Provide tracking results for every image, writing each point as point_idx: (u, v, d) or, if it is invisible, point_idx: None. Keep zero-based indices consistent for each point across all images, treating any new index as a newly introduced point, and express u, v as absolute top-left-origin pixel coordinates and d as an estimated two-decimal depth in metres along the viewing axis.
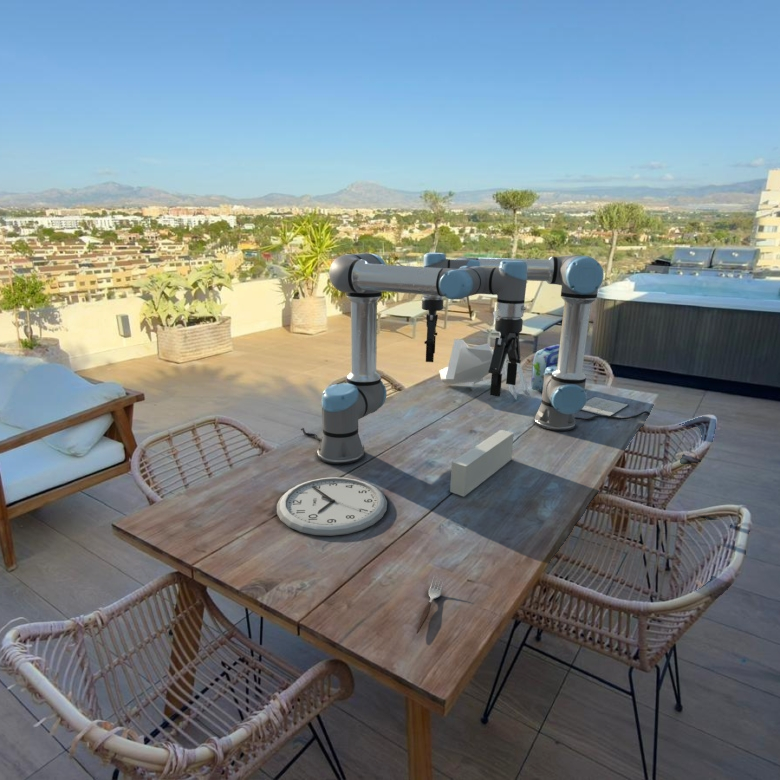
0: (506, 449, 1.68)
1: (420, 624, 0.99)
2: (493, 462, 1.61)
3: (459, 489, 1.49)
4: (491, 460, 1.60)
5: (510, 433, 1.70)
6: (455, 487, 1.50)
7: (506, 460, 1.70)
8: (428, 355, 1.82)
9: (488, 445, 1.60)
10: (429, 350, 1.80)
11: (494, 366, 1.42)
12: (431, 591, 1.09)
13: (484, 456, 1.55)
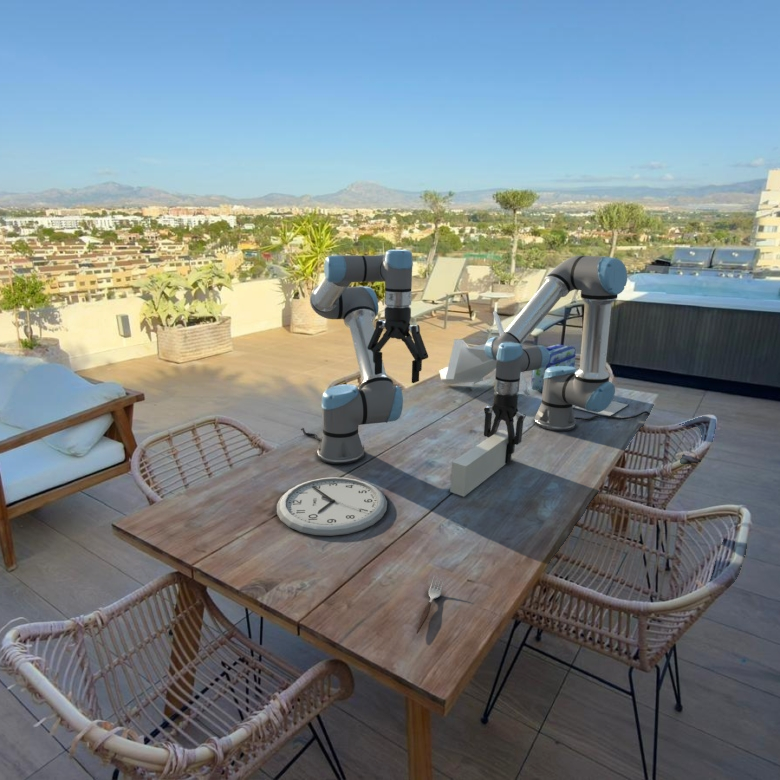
0: None
1: (420, 624, 0.99)
2: (493, 462, 1.61)
3: (459, 489, 1.49)
4: (491, 460, 1.60)
5: None
6: (455, 487, 1.50)
7: None
8: (508, 455, 1.69)
9: (488, 445, 1.60)
10: (513, 450, 1.68)
11: None
12: (431, 591, 1.09)
13: (484, 456, 1.55)
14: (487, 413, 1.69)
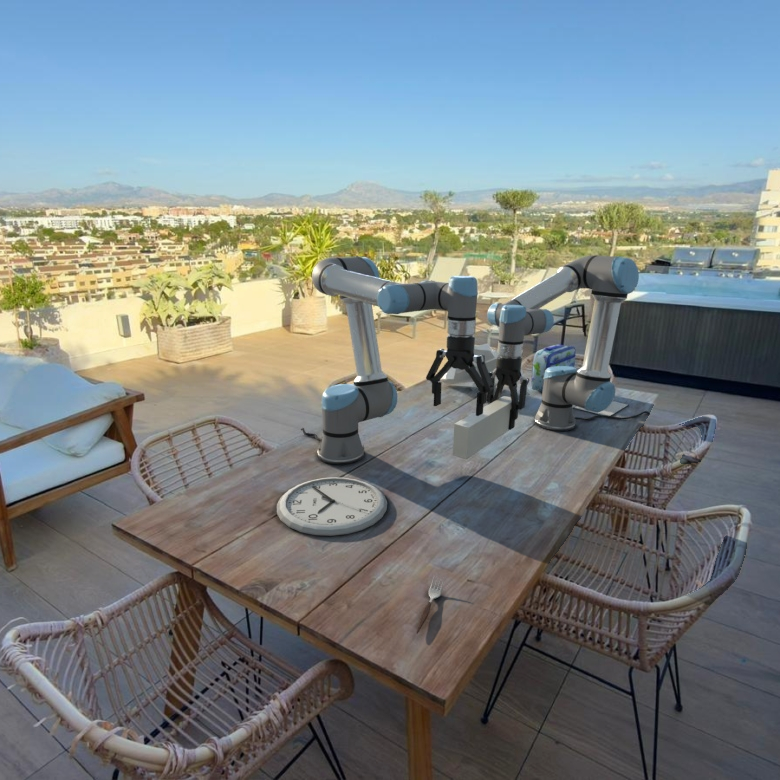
0: (509, 414, 1.64)
1: (420, 624, 0.99)
2: (496, 427, 1.58)
3: (462, 452, 1.46)
4: (494, 425, 1.56)
5: None
6: (458, 450, 1.46)
7: None
8: (512, 421, 1.65)
9: (491, 409, 1.57)
10: (516, 416, 1.64)
11: None
12: (431, 591, 1.09)
13: (487, 420, 1.51)
14: None
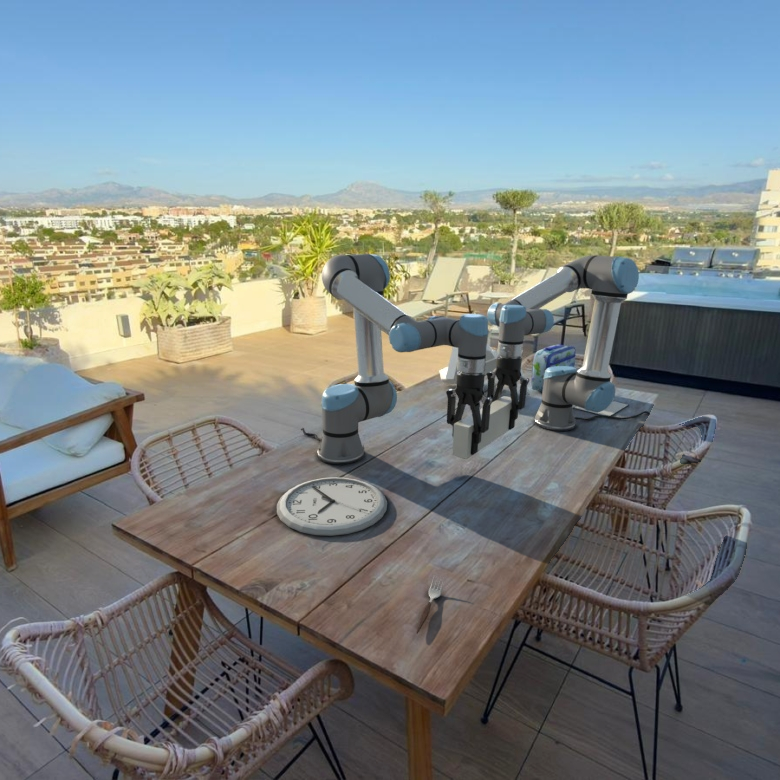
0: (509, 414, 1.64)
1: (420, 624, 0.99)
2: (496, 427, 1.58)
3: (461, 452, 1.46)
4: (494, 425, 1.56)
5: None
6: (457, 450, 1.46)
7: None
8: (512, 421, 1.65)
9: (491, 409, 1.57)
10: (516, 416, 1.64)
11: None
12: (431, 591, 1.09)
13: None
14: (490, 378, 1.66)
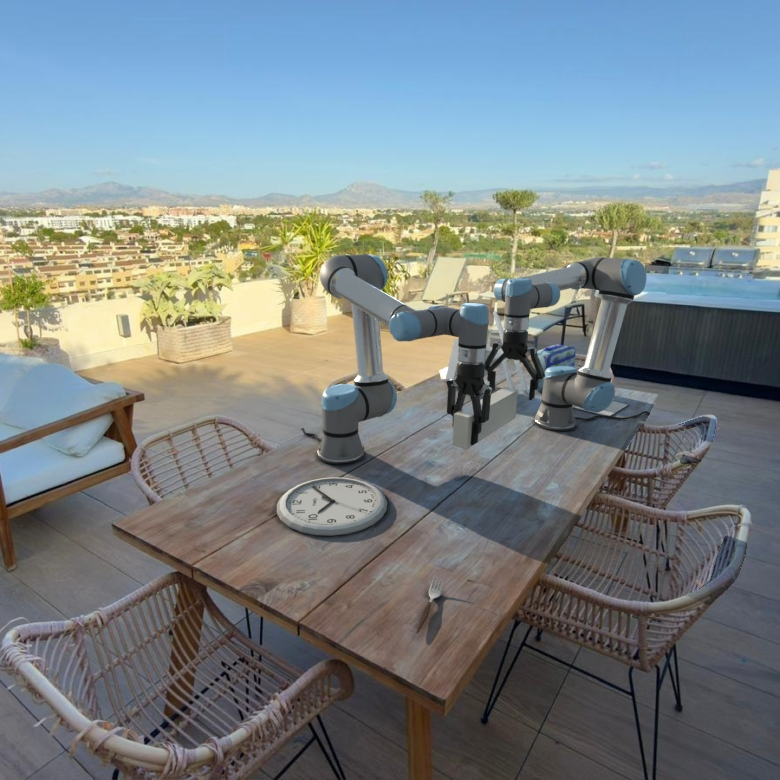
0: (509, 406, 1.63)
1: (420, 624, 0.99)
2: (497, 418, 1.57)
3: (461, 442, 1.45)
4: (494, 416, 1.56)
5: (514, 390, 1.65)
6: (457, 440, 1.46)
7: (510, 418, 1.66)
8: (532, 392, 1.62)
9: (491, 400, 1.56)
10: (537, 386, 1.61)
11: None
12: (431, 591, 1.09)
13: None
14: (494, 349, 1.66)
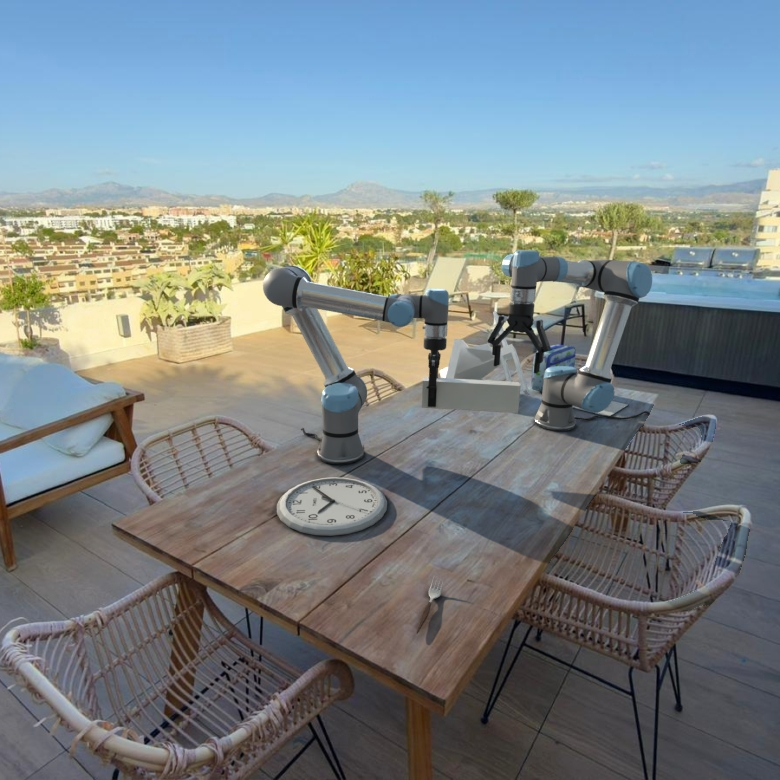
0: (503, 396, 1.72)
1: (420, 624, 0.99)
2: (476, 399, 1.74)
3: None
4: (471, 395, 1.74)
5: (516, 385, 1.71)
6: None
7: (505, 409, 1.73)
8: (537, 365, 1.62)
9: (475, 381, 1.74)
10: (542, 359, 1.61)
11: None
12: (431, 591, 1.09)
13: (456, 386, 1.73)
14: (500, 322, 1.65)
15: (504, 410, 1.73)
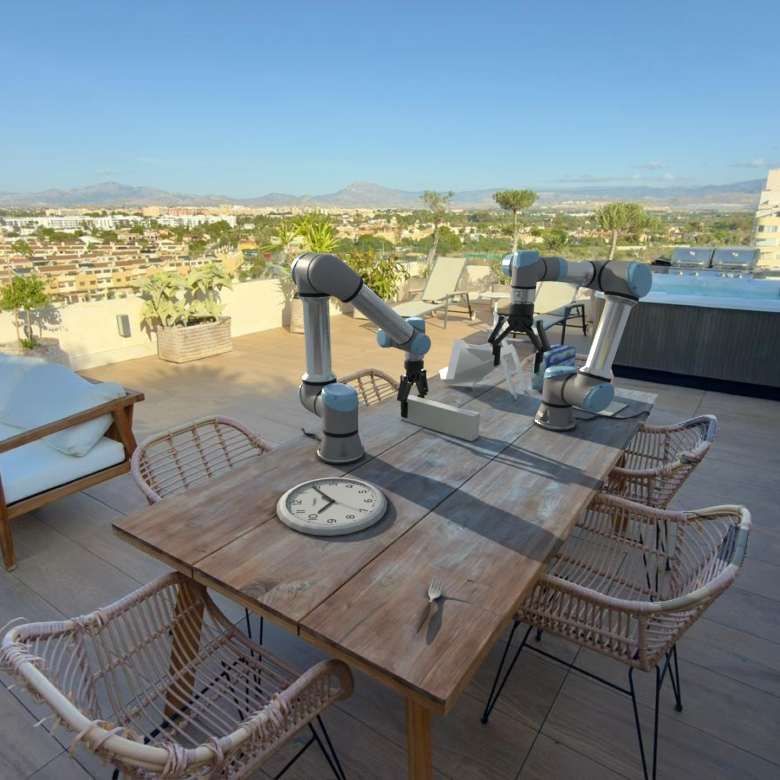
0: (460, 423, 1.89)
1: (420, 624, 0.99)
2: (439, 421, 1.94)
3: None
4: (436, 417, 1.95)
5: (471, 415, 1.86)
6: None
7: (462, 435, 1.89)
8: (537, 365, 1.62)
9: (442, 406, 1.95)
10: (542, 359, 1.61)
11: None
12: (431, 591, 1.09)
13: (425, 406, 1.97)
14: (500, 322, 1.65)
15: (461, 436, 1.90)
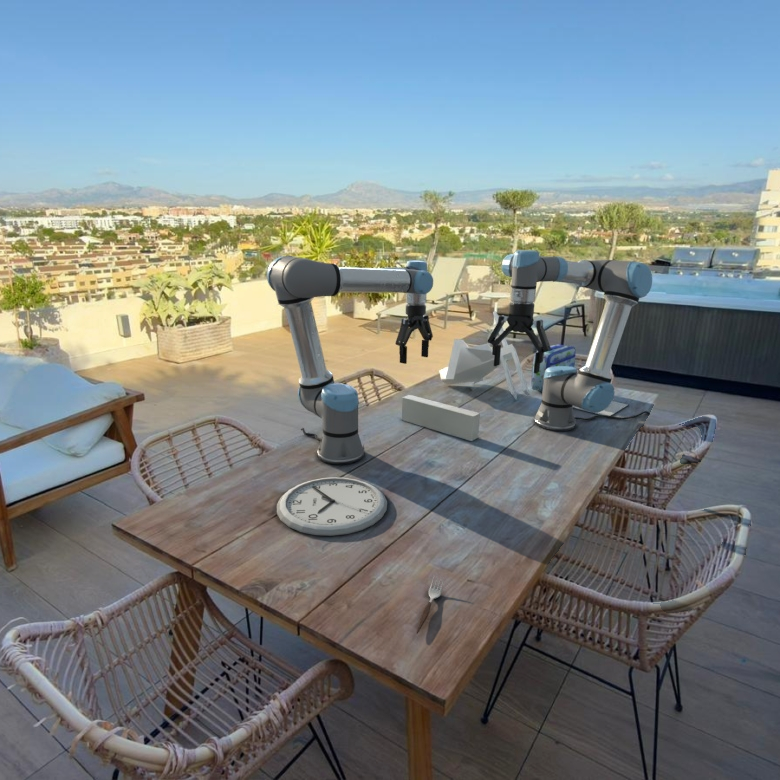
0: (460, 423, 1.89)
1: (420, 624, 0.99)
2: (439, 421, 1.94)
3: None
4: (436, 417, 1.95)
5: (471, 415, 1.86)
6: None
7: (462, 435, 1.89)
8: (537, 365, 1.62)
9: (442, 406, 1.95)
10: (542, 359, 1.61)
11: None
12: (431, 591, 1.09)
13: (425, 406, 1.97)
14: (500, 322, 1.65)
15: (461, 436, 1.90)
